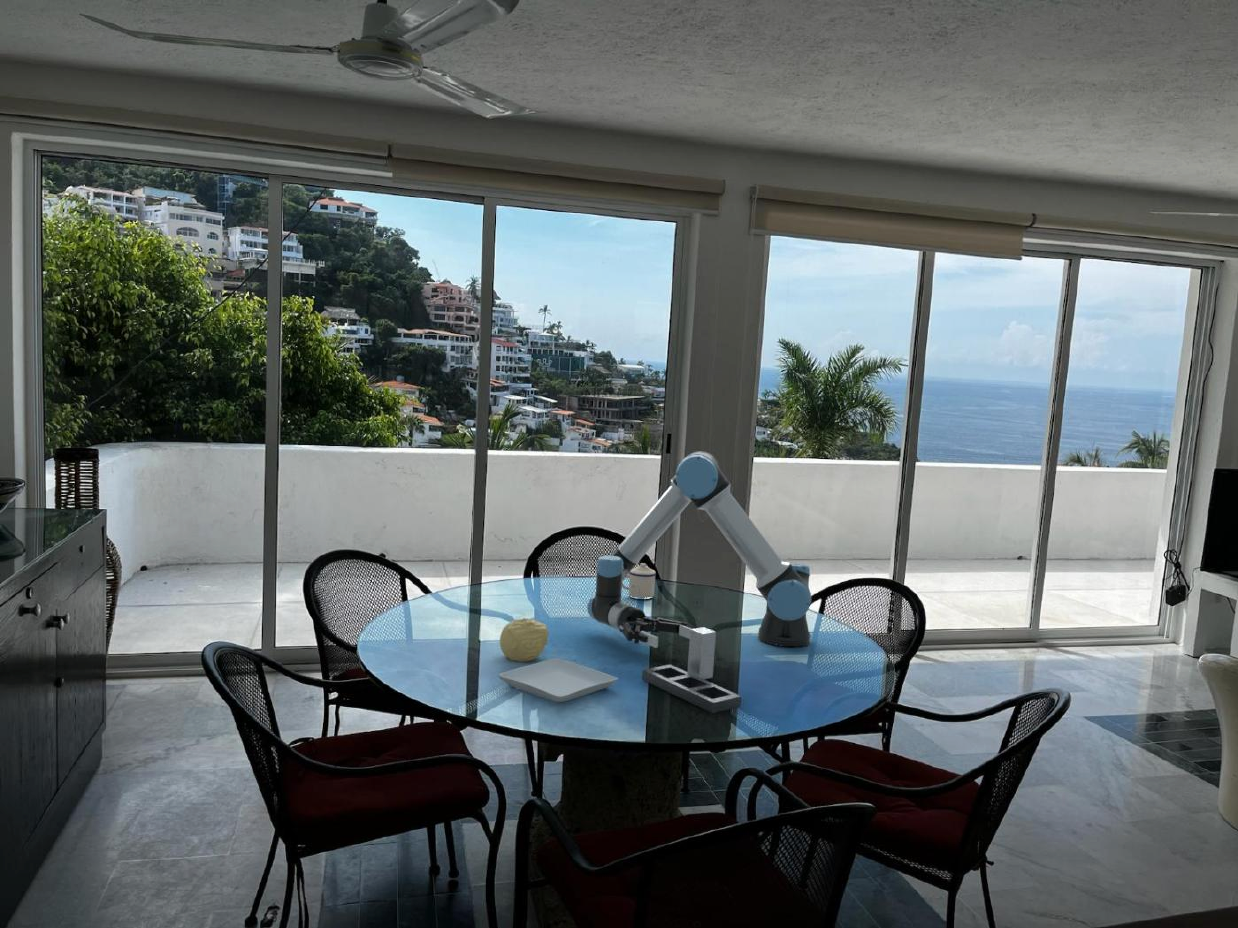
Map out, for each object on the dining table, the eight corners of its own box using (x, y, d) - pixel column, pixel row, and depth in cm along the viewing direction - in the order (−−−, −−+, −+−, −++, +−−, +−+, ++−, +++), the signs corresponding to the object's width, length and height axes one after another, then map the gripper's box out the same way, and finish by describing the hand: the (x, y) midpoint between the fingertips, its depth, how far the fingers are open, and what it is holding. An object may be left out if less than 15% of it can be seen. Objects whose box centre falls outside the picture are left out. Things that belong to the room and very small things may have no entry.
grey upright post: (700, 672, 246) (703, 627, 245) (712, 677, 243) (715, 631, 241) (687, 674, 244) (690, 629, 242) (699, 680, 240) (702, 634, 239)
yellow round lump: (514, 667, 241) (516, 626, 240) (491, 654, 251) (493, 614, 250) (552, 661, 248) (554, 621, 247) (529, 648, 257) (531, 610, 256)
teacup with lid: (654, 595, 326) (657, 561, 325) (653, 601, 317) (656, 567, 316) (620, 592, 327) (622, 559, 325) (618, 598, 318) (620, 564, 316)
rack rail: (669, 673, 243) (670, 664, 243) (740, 706, 223) (741, 696, 223) (641, 679, 238) (642, 669, 238) (712, 713, 218) (713, 702, 217)
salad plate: (555, 668, 244) (556, 655, 243) (619, 690, 230) (620, 676, 230) (494, 687, 227) (495, 673, 227) (559, 711, 214) (560, 696, 214)
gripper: (661, 626, 275) (710, 646, 258) (590, 637, 260) (638, 659, 243) (662, 601, 274) (712, 619, 257) (592, 610, 259) (640, 631, 242)
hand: (677, 639), depth 250 cm, fingers open, 13 cm apart
